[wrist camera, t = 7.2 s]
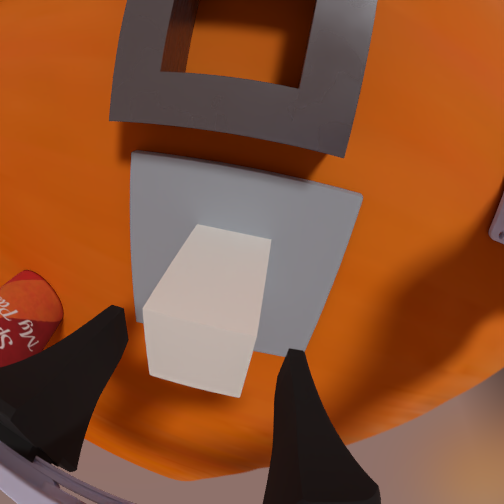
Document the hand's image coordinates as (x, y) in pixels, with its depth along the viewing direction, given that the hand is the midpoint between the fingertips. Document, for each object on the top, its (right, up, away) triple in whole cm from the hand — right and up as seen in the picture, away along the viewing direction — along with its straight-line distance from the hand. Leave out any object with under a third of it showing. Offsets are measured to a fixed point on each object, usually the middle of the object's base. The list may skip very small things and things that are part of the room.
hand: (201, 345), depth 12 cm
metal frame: (+3, +19, -4) cm, 19 cm away
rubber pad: (+1, +3, +5) cm, 6 cm away
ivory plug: (+1, +3, +5) cm, 6 cm away
